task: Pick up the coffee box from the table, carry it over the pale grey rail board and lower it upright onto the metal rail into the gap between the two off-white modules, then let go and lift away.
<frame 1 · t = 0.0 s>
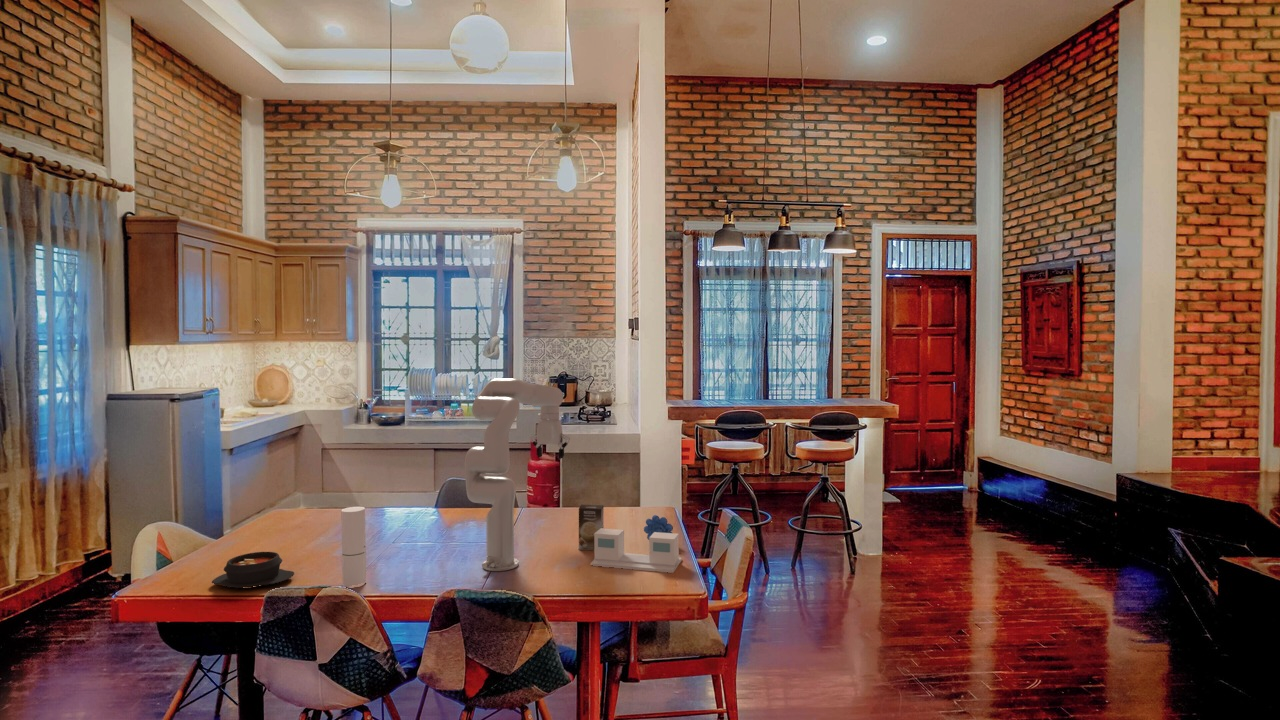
hand: (550, 457, 280), 31 cm above the table, tool pointing down, fingers open, 9 cm apart
casserole: (253, 583, 223), on the table
cylindrical container: (354, 585, 220), on the table
grapes: (659, 547, 259), on the table
rail board: (636, 563, 239), on the table
coffee box: (591, 548, 258), on the table
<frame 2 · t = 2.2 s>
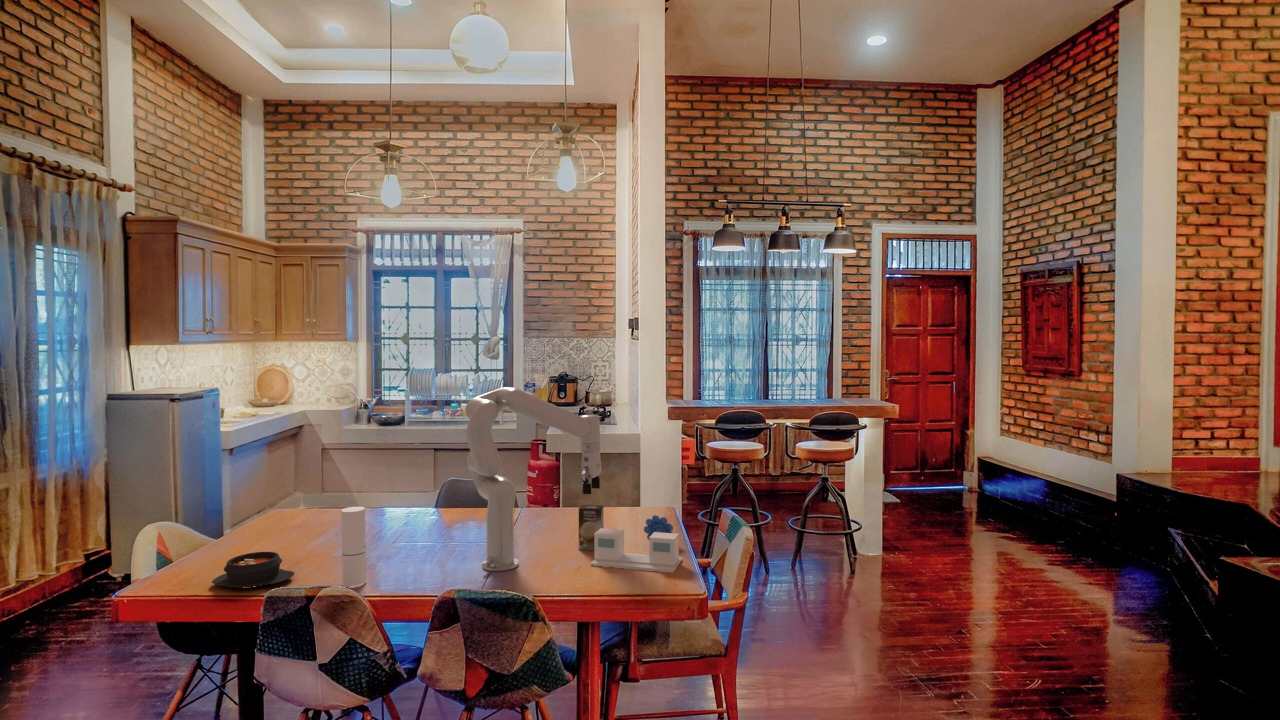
hand: (591, 491, 258), 22 cm above the table, tool pointing down, fingers open, 9 cm apart
nothing on the table moved.
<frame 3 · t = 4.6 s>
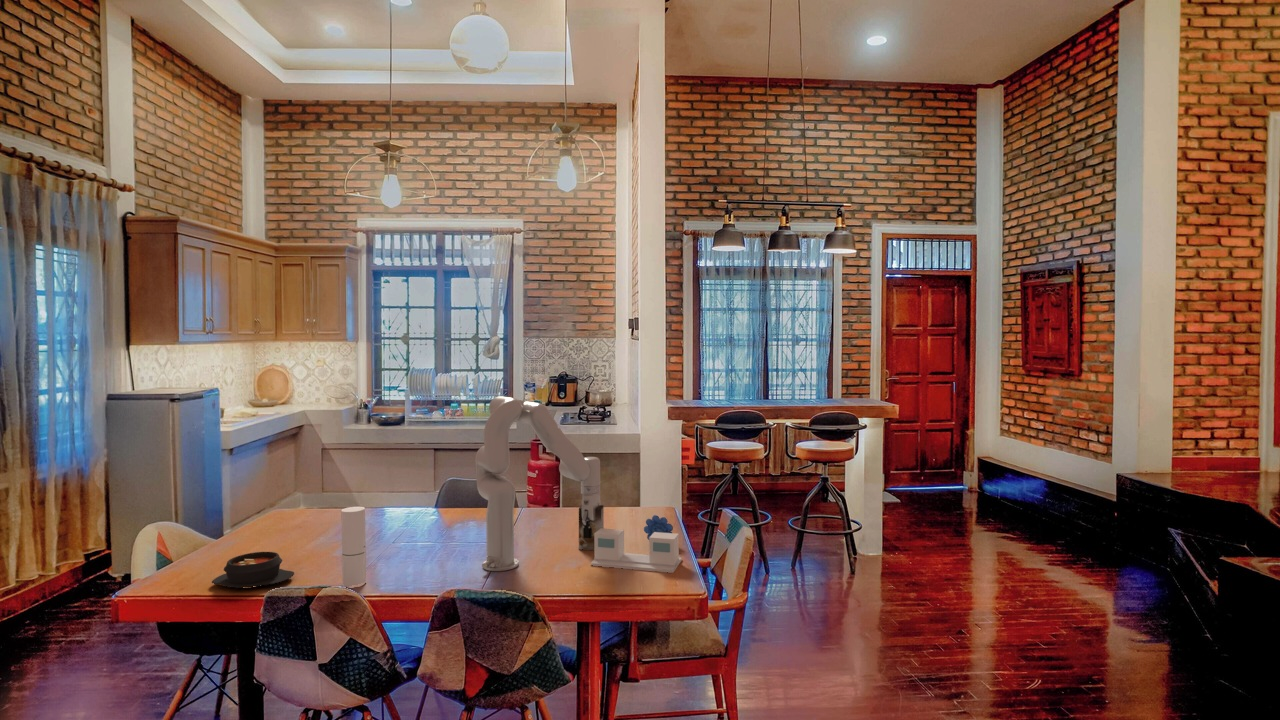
hand: (591, 534, 258), 5 cm above the table, tool pointing down, fingers closed on coffee box, 7 cm apart
coffee box: (591, 548, 258), on the table, touching gripper
everything else where it was.
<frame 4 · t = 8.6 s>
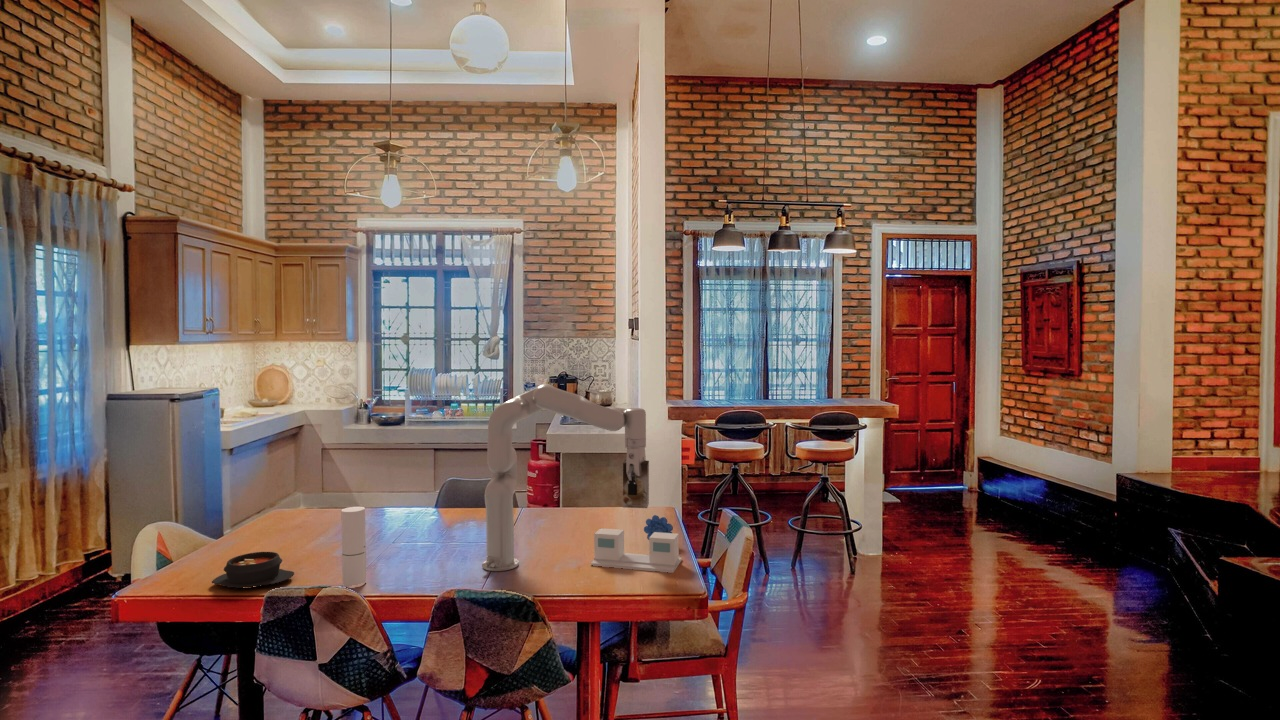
hand: (635, 492, 239), 25 cm above the table, tool pointing down, fingers closed on coffee box, 7 cm apart
coffee box: (635, 506, 239), point 20 cm above the table, touching gripper
everything else where it was.
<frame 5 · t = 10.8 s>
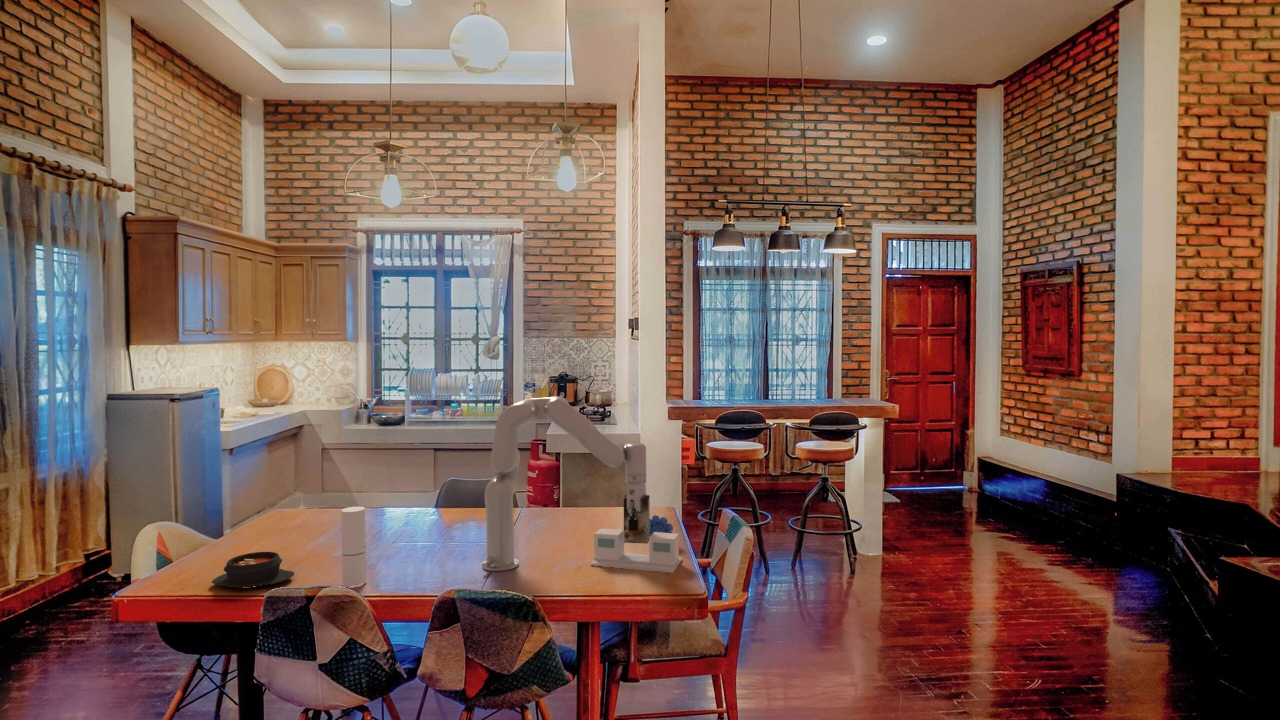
hand: (636, 527, 239), 13 cm above the table, tool pointing down, fingers closed on coffee box, 7 cm apart
coffee box: (636, 541, 239), point 8 cm above the table, touching gripper
everything else where it was.
when the fingers open (8 cm above the table, at t = 12.8 s): coffee box drops 1 cm, resting on rail board.
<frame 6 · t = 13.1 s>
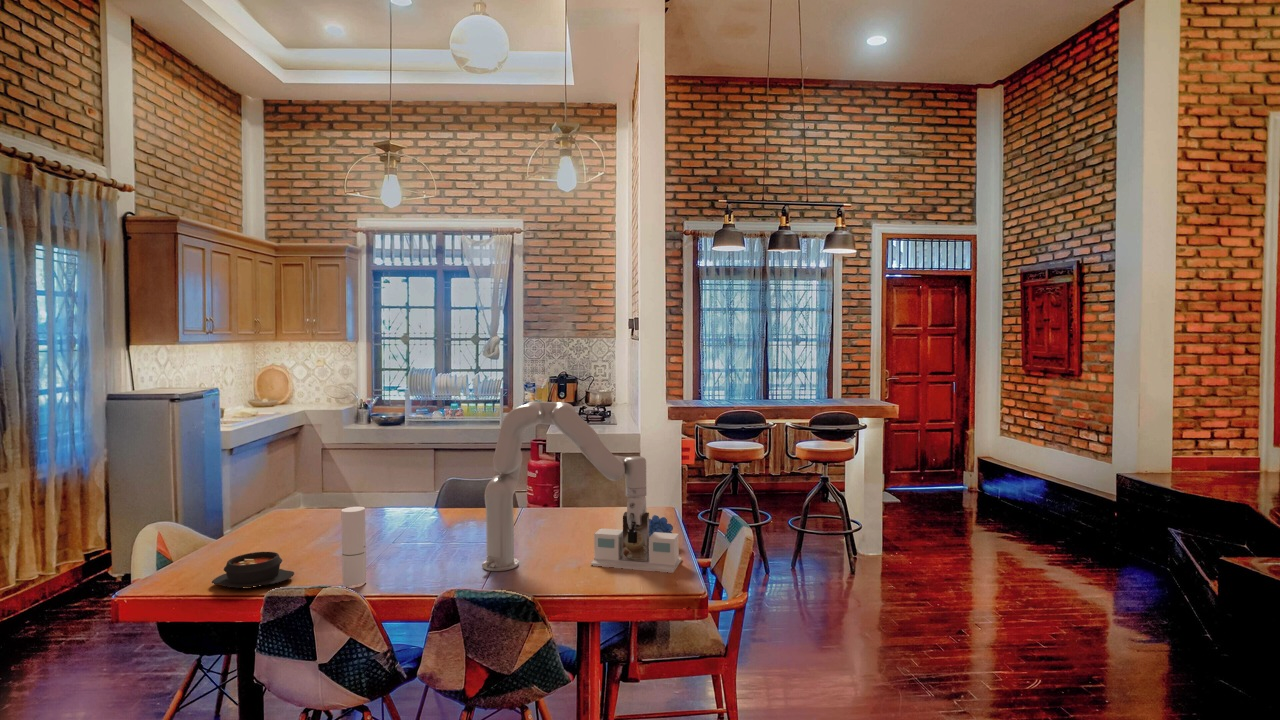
hand: (636, 539, 239), 9 cm above the table, tool pointing down, fingers open, 9 cm apart
coffee box: (636, 559, 239), point 1 cm above the table, touching rail board
everything else where it was.
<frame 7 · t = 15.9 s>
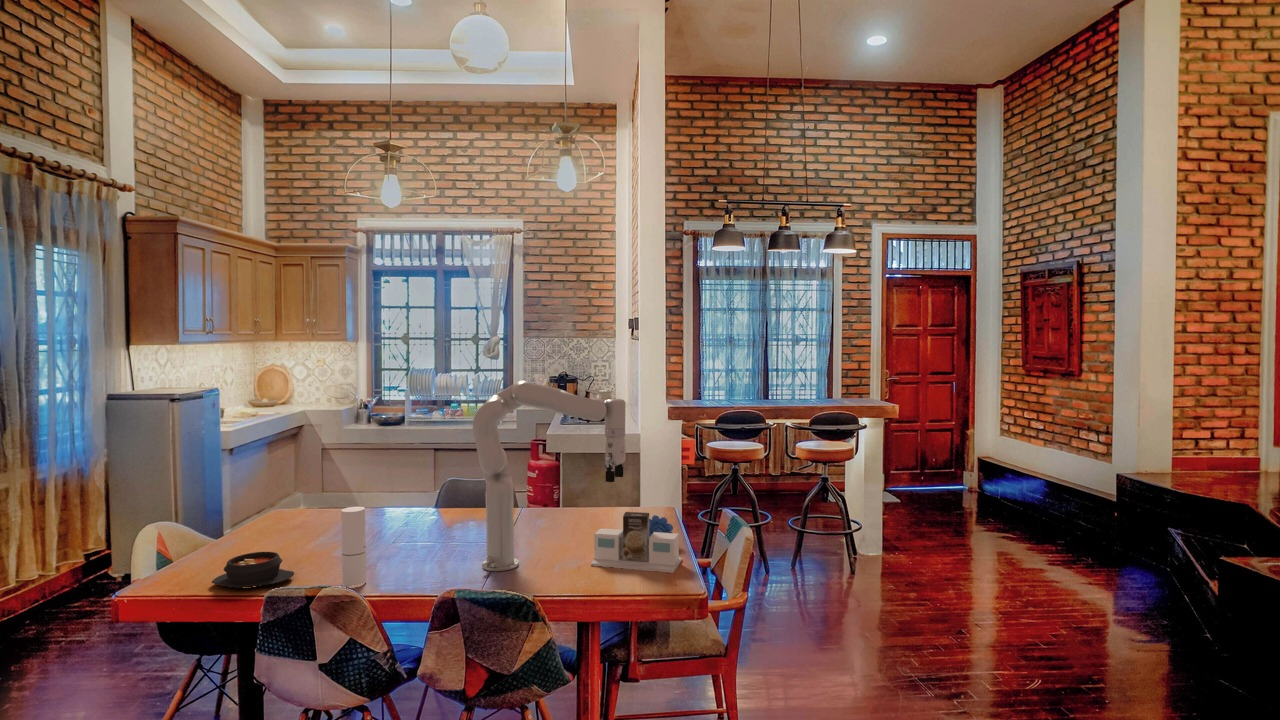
hand: (614, 479, 245), 29 cm above the table, tool pointing down, fingers open, 9 cm apart
nothing on the table moved.
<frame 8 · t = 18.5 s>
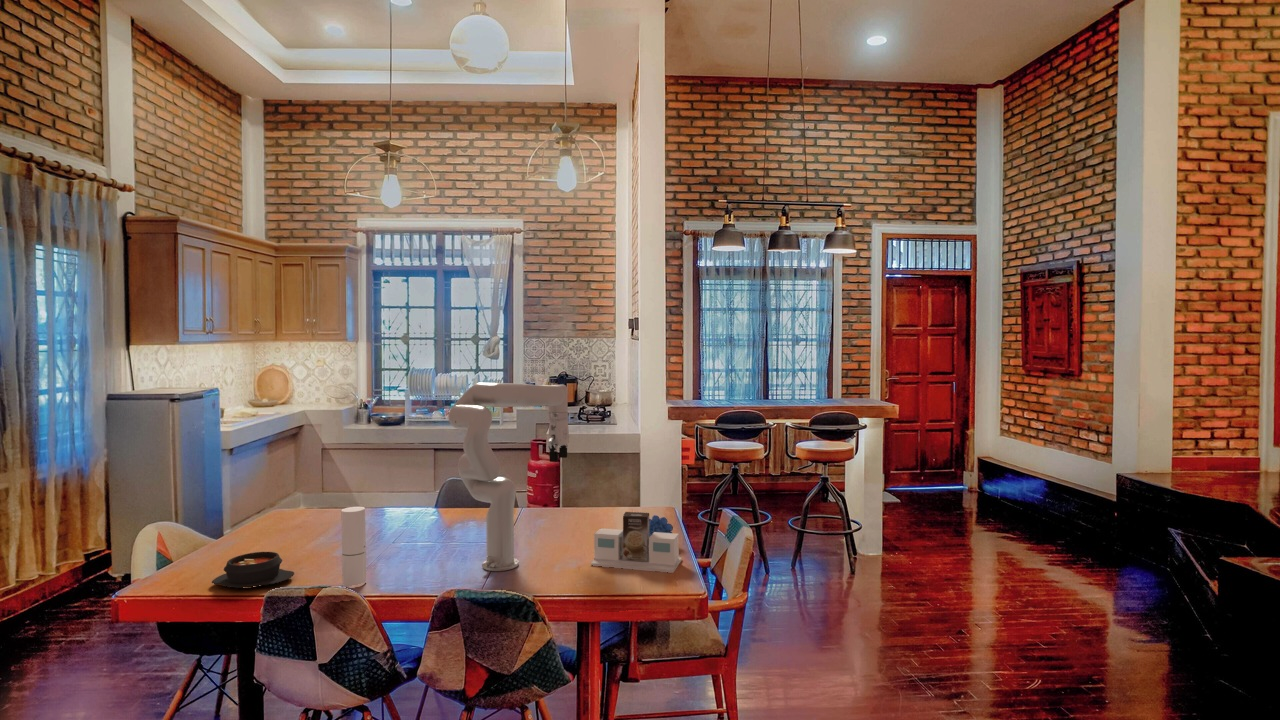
hand: (558, 459, 263), 33 cm above the table, tool pointing down, fingers open, 9 cm apart
nothing on the table moved.
at the end: coffee box 0.1 cm off-centre on the rail board, point 1.4 cm above the rail board's base; coffee box tilted 0°; the gripper is holding nothing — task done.
